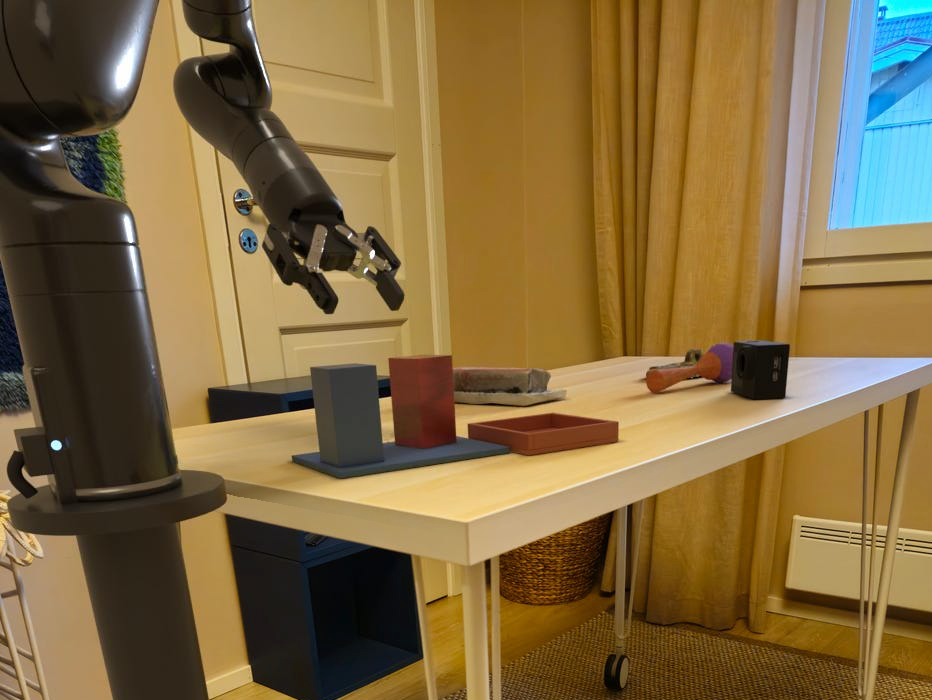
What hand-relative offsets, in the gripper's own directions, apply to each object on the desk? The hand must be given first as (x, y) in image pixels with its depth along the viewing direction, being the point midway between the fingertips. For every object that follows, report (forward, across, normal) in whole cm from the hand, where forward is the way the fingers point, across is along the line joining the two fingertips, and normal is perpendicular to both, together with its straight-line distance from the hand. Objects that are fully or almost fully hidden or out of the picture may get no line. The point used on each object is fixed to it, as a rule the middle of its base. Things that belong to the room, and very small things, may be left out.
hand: (367, 306), depth 89 cm
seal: (+2, +74, +18) cm, 76 cm away
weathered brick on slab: (-1, +34, +21) cm, 40 cm away
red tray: (+21, +9, -2) cm, 23 cm away
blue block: (+17, -11, +2) cm, 21 cm away
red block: (+16, -1, +3) cm, 16 cm away
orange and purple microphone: (+11, +61, +10) cm, 63 cm away
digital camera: (+20, +54, 0) cm, 58 cm away
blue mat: (+17, -5, +3) cm, 18 cm away
